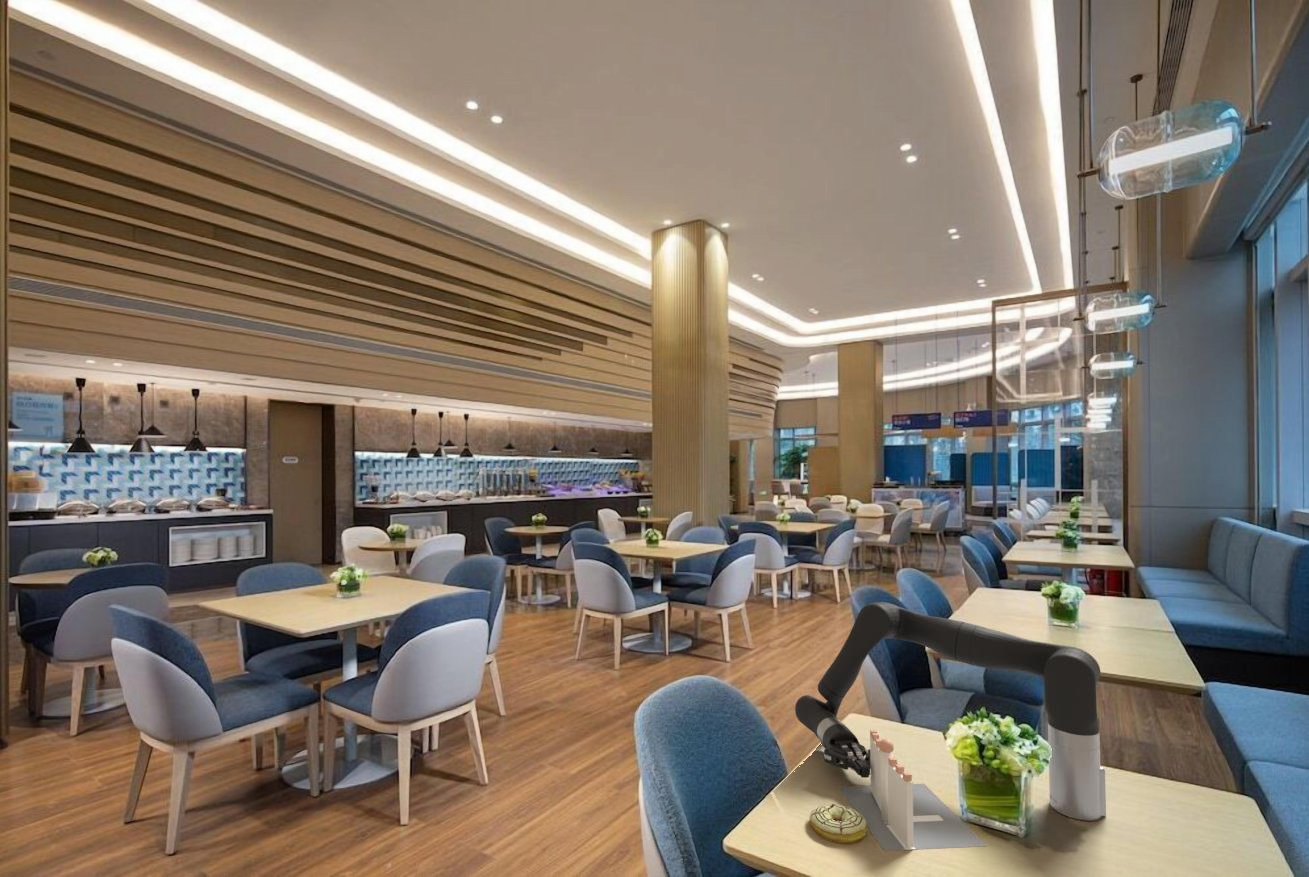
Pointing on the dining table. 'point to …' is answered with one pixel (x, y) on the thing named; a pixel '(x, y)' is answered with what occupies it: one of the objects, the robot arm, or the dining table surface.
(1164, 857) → the dining table surface
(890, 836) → the card
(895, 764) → the fence post and fixed panel
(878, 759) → the white crenellated wall panel
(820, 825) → the decorated donut
